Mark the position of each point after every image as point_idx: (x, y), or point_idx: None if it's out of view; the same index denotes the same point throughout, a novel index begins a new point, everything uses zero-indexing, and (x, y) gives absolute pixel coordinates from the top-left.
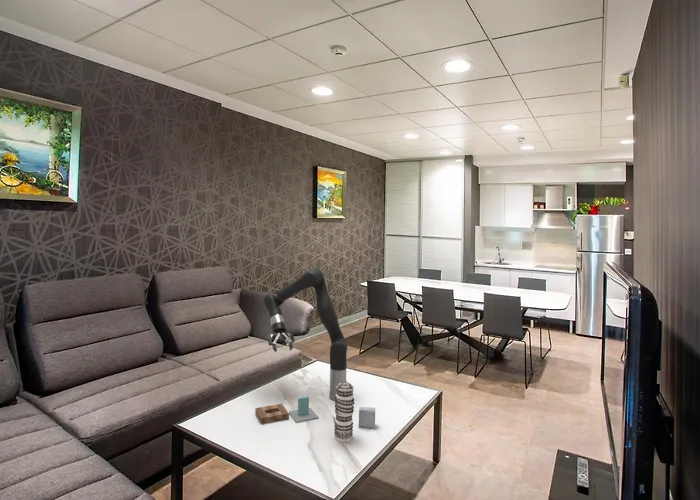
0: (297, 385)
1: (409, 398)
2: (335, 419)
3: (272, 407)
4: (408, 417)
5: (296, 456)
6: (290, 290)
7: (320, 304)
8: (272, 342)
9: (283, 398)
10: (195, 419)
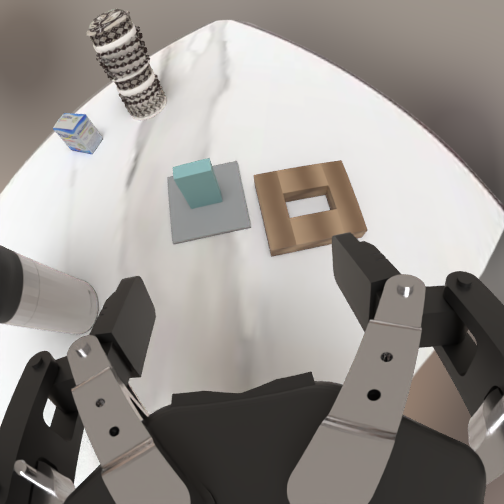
0: None
1: None
2: (151, 79)
3: (308, 224)
4: (17, 177)
5: (256, 63)
6: None
7: None
8: (433, 307)
9: (256, 349)
10: (492, 235)
